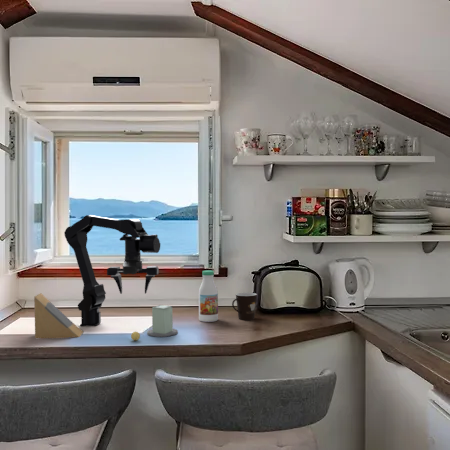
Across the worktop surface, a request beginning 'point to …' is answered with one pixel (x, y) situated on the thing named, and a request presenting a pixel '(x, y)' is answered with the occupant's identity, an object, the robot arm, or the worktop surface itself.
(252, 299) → the coffee mug
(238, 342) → the worktop surface
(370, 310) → the worktop surface
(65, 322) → the sandwich container
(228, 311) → the worktop surface
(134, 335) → the mustard ball
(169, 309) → the pale green block
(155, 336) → the coaster
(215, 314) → the milk bottle
